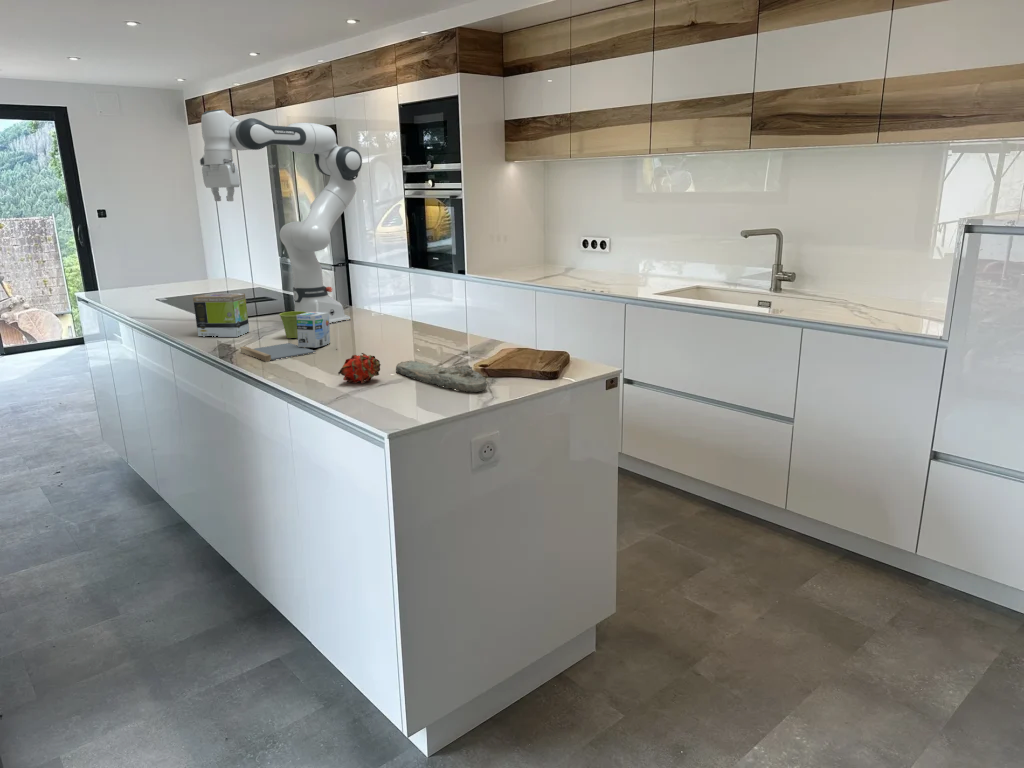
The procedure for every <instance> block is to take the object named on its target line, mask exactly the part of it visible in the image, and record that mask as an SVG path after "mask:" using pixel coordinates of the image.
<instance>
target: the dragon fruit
mask: <svg viewBox="0 0 1024 768" xmlns="http://www.w3.org/2000/svg"><path fill="white" fill-rule="evenodd" d="M381 366H382V364H381V363H380V360H379V359H378V358H376V356H375V355H371V354H368V355H367V354H365V353H364V352H361V353H360V354H359V355H356V354H352V355H351V357H350V358H346V359H345V361H344V364H343V365H342V367H341V368H340V370H339V371H338V373H337V374H338V376H340V374H341V376H344V377H343V381H346V383H352V382H356V383H358V382H360V384H361V385H362V384H364V383H366V382H371V381H372V378H373V377H377V376H379V375H380V373H379V372H380V371H381Z"/></svg>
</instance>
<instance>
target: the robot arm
mask: <svg viewBox="0 0 1024 768" xmlns="http://www.w3.org/2000/svg"><path fill="white" fill-rule="evenodd" d="M200 120H201V124H200V125H201V137H202V140H203V142H204V144H203V145H204V147H203V151H204V154H203V155H202V157H201V158H200V159H199V165H200V166H202V167H201V172H202V173H201V174H202V180H203V183H204V187H206V188H210V190H211V193H212V195H213V197H214V198H213V200H214V202H221V201H222V196H221V195H220V193H219V191H220V188H222V189H223V188H226V192H227V194H226V197H225V198H226V201H227V202H234V194H235V188H239V187H240V186H241V185H240V184H241V182H240V181H241V179H240V175H239V169H238V166H237V165H236V164H235V162H234V159H233V158H234V157H233V150H236V151H250V150H252V151H253V150H254V151H257V150H262V149H264V148H266V147H268V146H270V145H272V146H273V145H274V146H275V145H277V146H287V148H288V149H289V150H290V151H291V152H294V153H299V154H308V155H309V154H312V155H314V162H315V167H316V168H317V170H318V172H319V173H320V174H322V175H324V176H328V177H329V180H328V182H327V184H326V185H325V186H324V188H323V189H322V190H321V191H320V192H319V194H318V195H317V196H316V197H315V199H314V200H313V201H312V202H311V204H310V210H309V213H308V215H307V217H306V218H305V219H304V220H303V221H302V220H301V221H299V220H296V221H295V220H294V221H291V222H288V223H285V224H284V225H283V226H282V227H280V231H279V239H280V241H281V243H282V244H283V245H284V248H285V250H286V252H287V256H288V258H289V261H290V266H291V269H292V270H291V272H292V279H293V281H292V282H293V287H292V292H293V294H292V295H293V301H294V311H303V312H307V313H309V312H322V313H329V323H331V322H336V321H341V320H346V319H350V320H351V316H349V315H347V314H345V310H344V306H343V305H342V303H340V302H339V301H338V300H336V299H335V298H333V297H332V296H330V295H329V293H331V292H333V287H332V286H325V285H324V279H323V278H324V277H323V269H322V264H321V263H320V262H319V260H318V258H317V256H316V253H315V252H319V251H322V250H325V249H326V248H327V247H328V246H329V244H330V242H331V234H330V233H331V232H332V229H333V227H334V225H335V224H336V222H337V221H338V219H339V218H340V217H341V216H342V214H343V213H344V212H345V210H346V209H347V208H348V207H349V205H350V203H351V202H352V200H353V198H354V196H355V194H356V191H357V185H356V183H355V182H354V180H356V179H357V178H358V176H359V172H360V171H361V169H362V164H363V158H362V155H361V153H360V151H358V150H357V149H356V148H354V147H351V146H348V145H347V146H346V145H345V146H339V144H338V143H337V136H336V133H335V131H334V130H333V129H332V128H331V127H330V126H327V125H325V124H319V123H313V122H293V123H290V124H288V125H287V126H285V125H273V124H272V125H271V124H267V123H265V122H264V121H262V120H260V119H257V118H254V117H253V118H246V119H244V120H240V119H238V118H236V117H234V116H232V115H230V114H229V113H228V112H226V110H225V109H222V108H221V109H219V108H218V109H212V110H206V111H204V112H203V113H202V114H201V119H200ZM328 292H329V293H328ZM346 321H347V320H346ZM341 322H342V321H341ZM336 323H337V322H336ZM331 324H332V323H331Z"/></svg>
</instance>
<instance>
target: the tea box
mask: <svg viewBox="0 0 1024 768" xmlns="http://www.w3.org/2000/svg"><path fill="white" fill-rule="evenodd" d="M192 300H193V308H194V314H195V315H194V316H195V322H196V330H197V336H203V337H202V338H206V337H205V336H212V337H211V338H239V337H241V336H240V335H242V336H244V335H246V334H245V333H247V332H249V333H250V326H249V316H248V308H247V307H248V305H247V300H246V293H243V292H242V293H241V292H240V293H239V292H237V293H235V292H234V293H230V292H229V293H224V292H223V293H204V294H201V295H196V296H193V297H192ZM243 334H244V335H243ZM247 334H248V333H247ZM213 336H214V337H213ZM216 336H218V337H216ZM238 336H239V337H238Z"/></svg>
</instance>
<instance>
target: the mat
mask: <svg viewBox="0 0 1024 768" xmlns="http://www.w3.org/2000/svg"><path fill="white" fill-rule="evenodd" d="M253 349H254V350H257V351H260V352H263V353H266V354H269V355H271V360H273V361H277V360H276V359H279V360H282V359H281V358H285V359H287V358H286V357H290V358H292V357H291V356H296V357H298V356H297V355H302V356H304V355H303V354H307V355H309V354H308V353H313V352H316V353H317V351H316V350H313V349H310V348H308V347H298V344H297V345H296V344H293V343H291V342H286V343H280V344H275V345H274V344H273V345H269V346H262V347H256V348H253ZM313 354H314V353H313Z"/></svg>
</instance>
